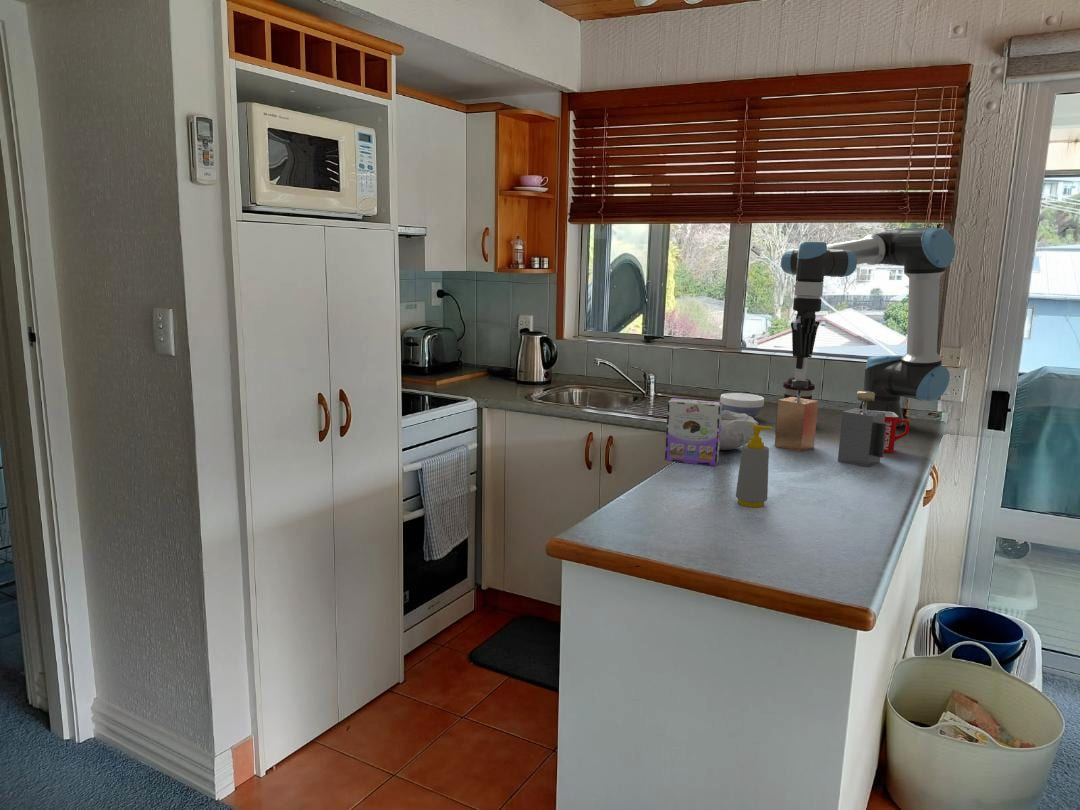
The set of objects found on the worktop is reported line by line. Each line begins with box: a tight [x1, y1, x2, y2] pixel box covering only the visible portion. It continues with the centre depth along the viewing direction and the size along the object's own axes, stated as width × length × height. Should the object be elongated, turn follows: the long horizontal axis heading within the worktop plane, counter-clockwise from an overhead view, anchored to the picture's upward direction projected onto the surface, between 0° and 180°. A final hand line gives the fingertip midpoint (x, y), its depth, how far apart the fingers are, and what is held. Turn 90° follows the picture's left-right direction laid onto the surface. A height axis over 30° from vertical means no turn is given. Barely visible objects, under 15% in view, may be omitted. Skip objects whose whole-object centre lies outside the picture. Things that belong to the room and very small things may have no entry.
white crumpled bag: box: [719, 409, 760, 451], centre depth 229 cm, size 21×20×10 cm
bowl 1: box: [719, 392, 765, 420], centre depth 273 cm, size 14×14×8 cm
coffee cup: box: [782, 377, 816, 400], centre depth 267 cm, size 10×10×15 cm
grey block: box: [837, 407, 887, 468], centre depth 217 cm, size 8×10×14 cm
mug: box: [878, 411, 911, 454], centre depth 233 cm, size 12×8×11 cm
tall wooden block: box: [774, 397, 819, 452], centre depth 234 cm, size 8×10×14 cm
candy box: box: [664, 397, 723, 467], centre depth 213 cm, size 14×6×16 cm, turn 71°
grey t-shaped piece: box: [792, 380, 808, 401], centre depth 232 cm, size 6×6×17 cm
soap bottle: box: [735, 424, 774, 508], centre depth 178 cm, size 7×7×18 cm
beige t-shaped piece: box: [856, 390, 875, 413], centre depth 217 cm, size 6×6×17 cm
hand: (800, 379), depth 231 cm, fingers closed
